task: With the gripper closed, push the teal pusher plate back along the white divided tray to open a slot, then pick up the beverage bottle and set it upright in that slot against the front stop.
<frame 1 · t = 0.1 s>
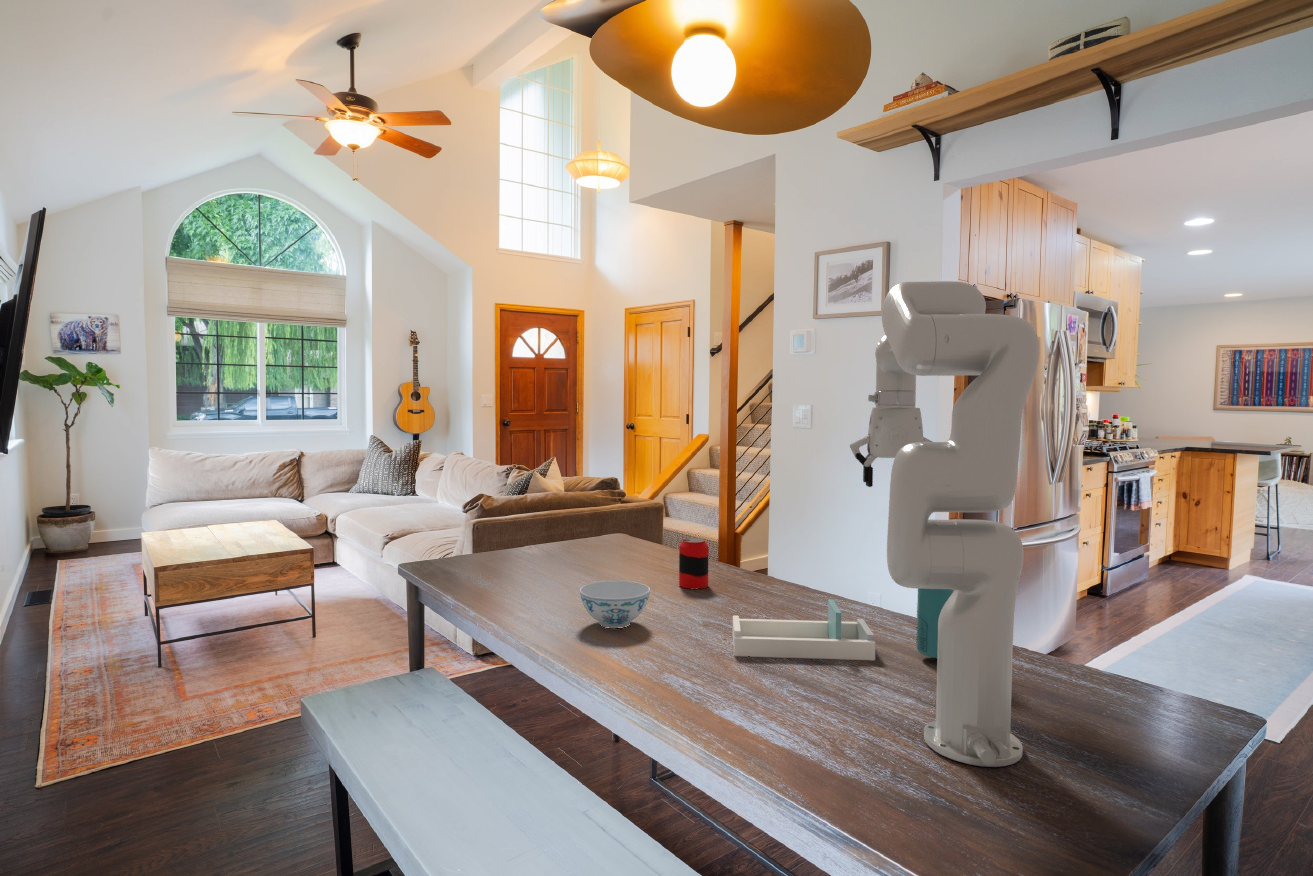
hand: (893, 486, 143), 31 cm above the table, tool pointing down, fingers open, 9 cm apart
white divided tray: (800, 647, 140), on the table
soda can: (693, 586, 187), on the table
pusher: (800, 647, 140), resting on white divided tray, slide at 0.0 cm
beverage bottle: (933, 661, 134), on the table
chinaware: (614, 625, 154), on the table
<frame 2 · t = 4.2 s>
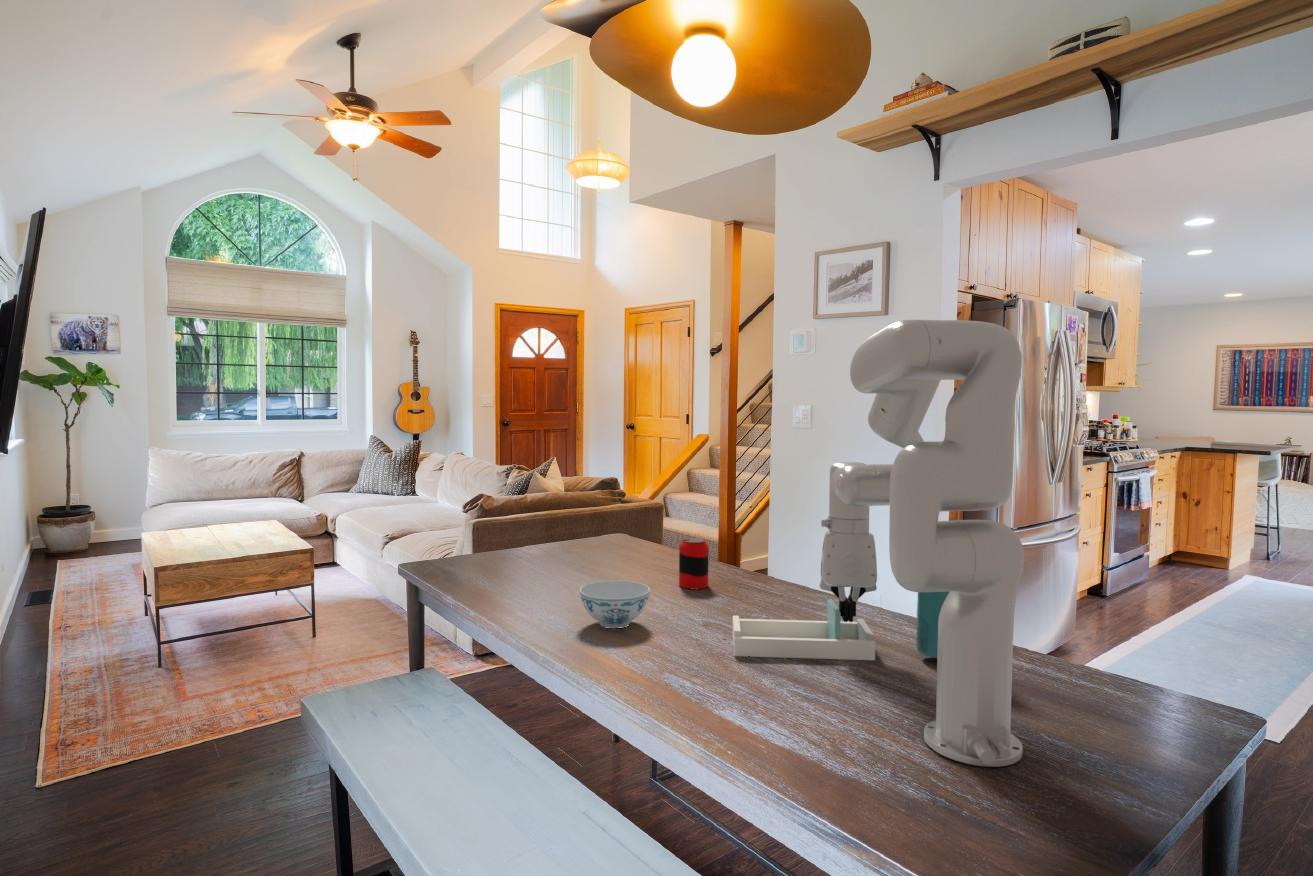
hand: (847, 619, 140), 6 cm above the table, tool pointing down, fingers closed
pusher: (799, 647, 141), resting on white divided tray, slide at 0.2 cm, touching gripper
everything else where it was.
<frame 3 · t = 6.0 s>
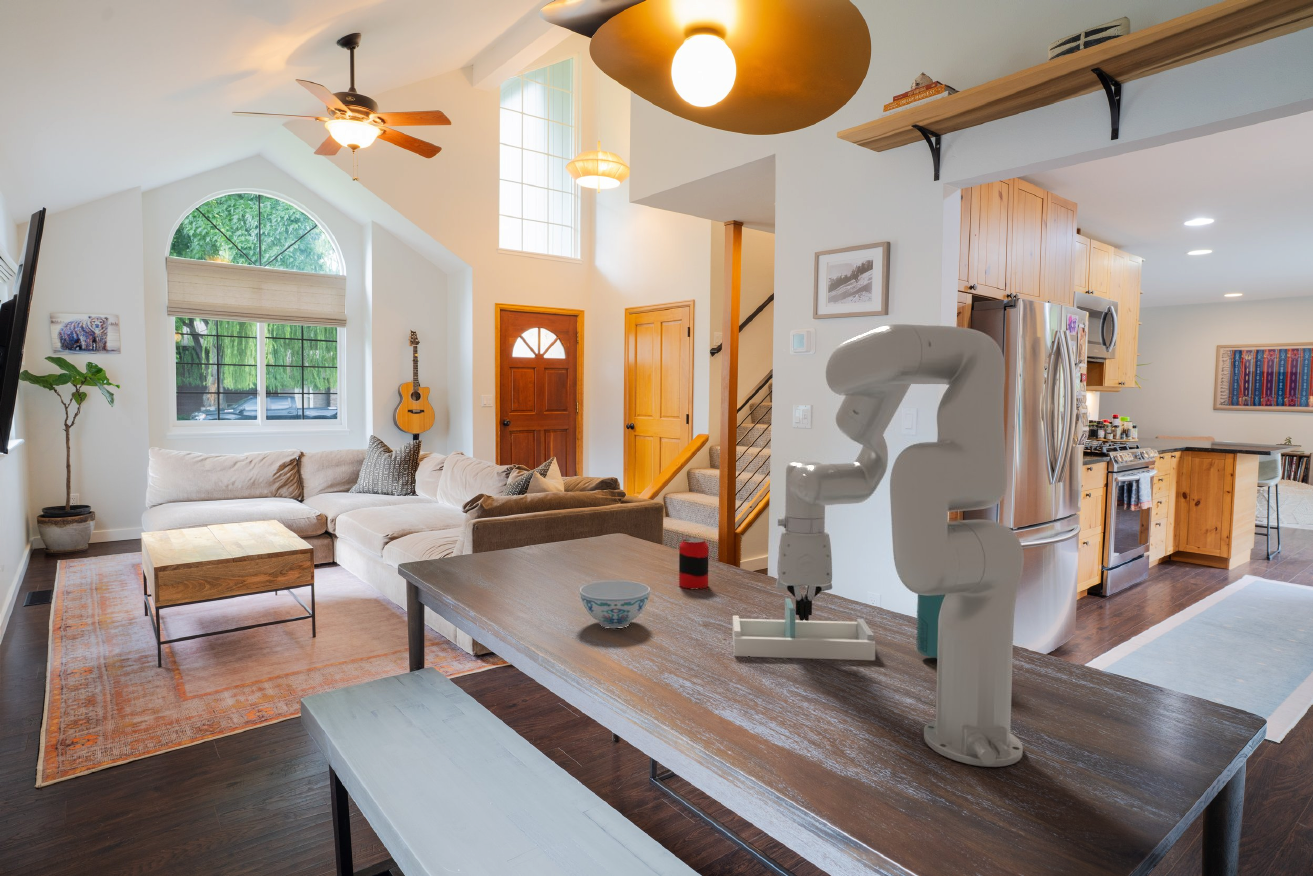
hand: (803, 618, 140), 6 cm above the table, tool pointing down, fingers closed
pusher: (756, 645, 141), resting on white divided tray, slide at 8.5 cm, touching gripper
everything else where it was.
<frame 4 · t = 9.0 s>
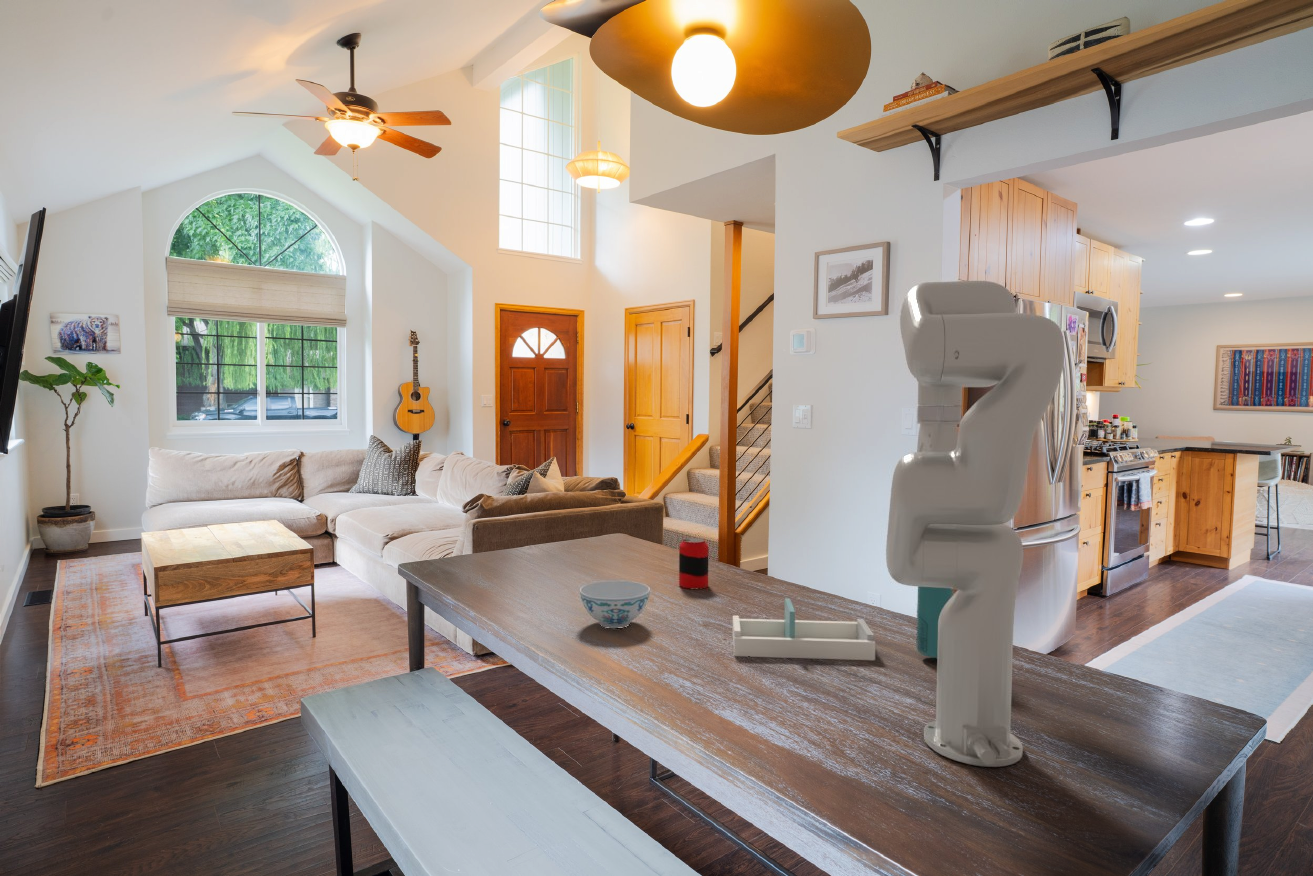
hand: (936, 514, 132), 27 cm above the table, tool pointing down, fingers open, 3 cm apart
pusher: (755, 645, 141), resting on white divided tray, slide at 8.6 cm
everything else where it was.
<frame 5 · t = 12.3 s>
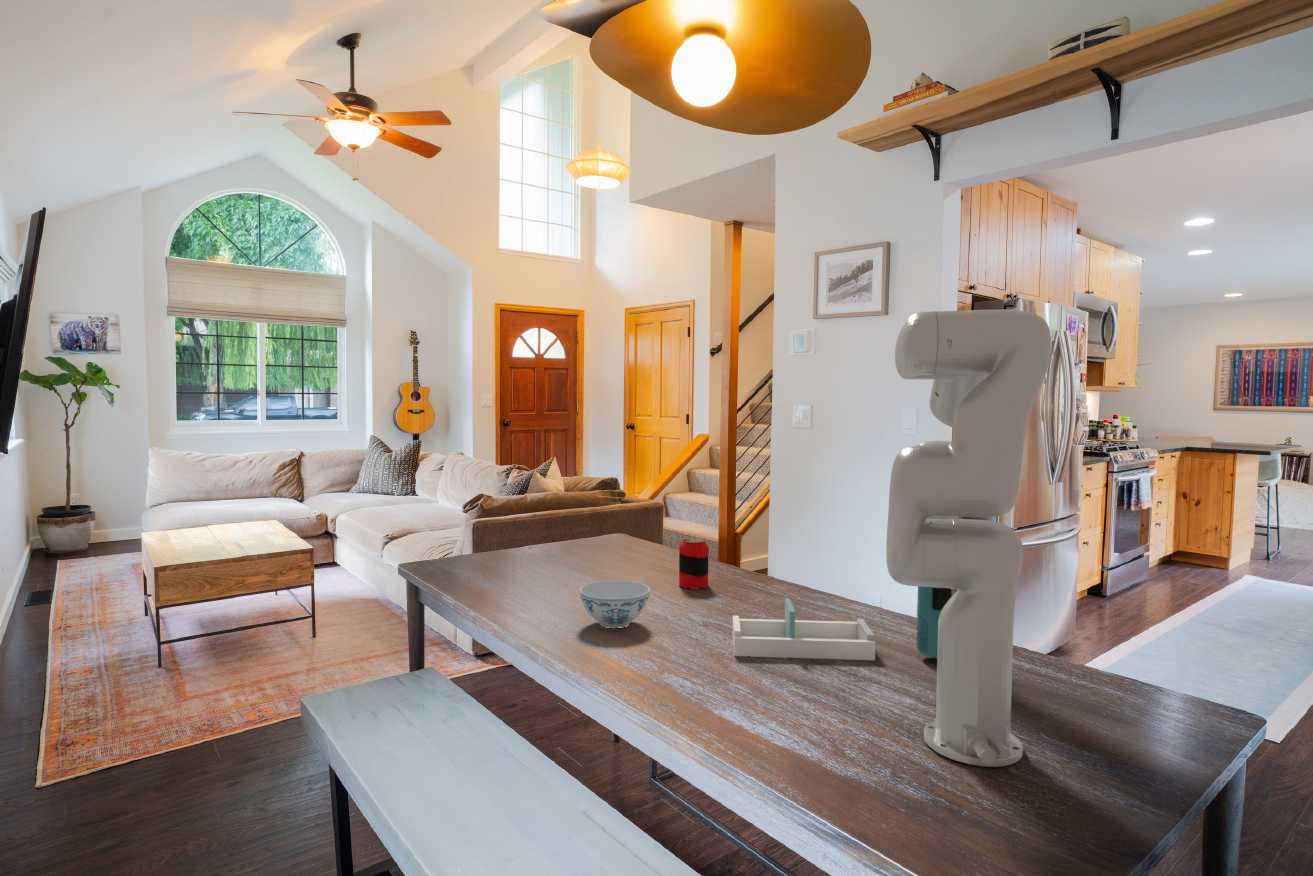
hand: (935, 603, 133), 11 cm above the table, tool pointing down, fingers closed on beverage bottle, 6 cm apart
beverage bottle: (933, 661, 134), on the table, touching gripper
everything else where it was.
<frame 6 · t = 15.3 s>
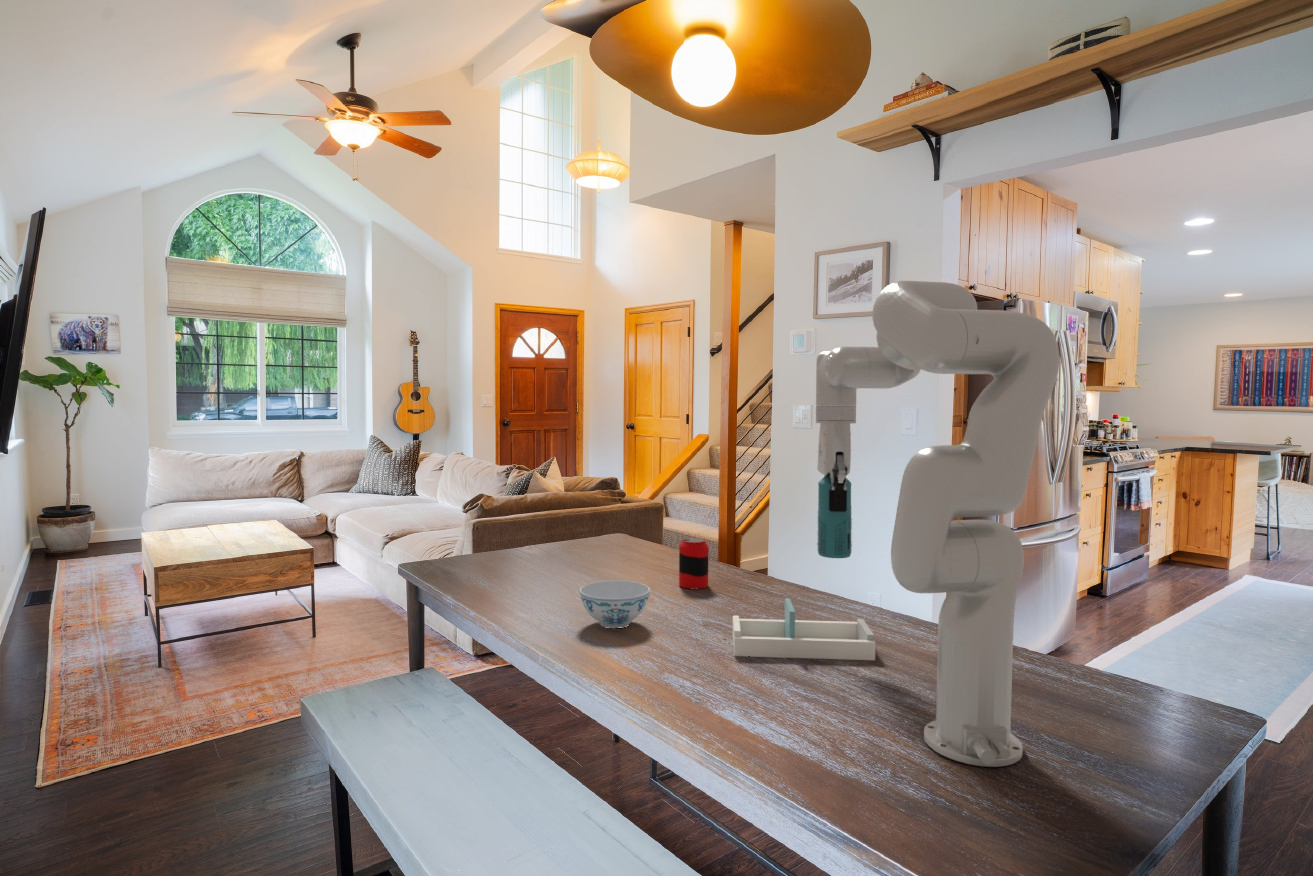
hand: (834, 507, 139), 28 cm above the table, tool pointing down, fingers closed on beverage bottle, 6 cm apart
beverage bottle: (833, 563, 139), point 17 cm above the table, touching gripper
everything else where it was.
when the fingers open (12 cm above the table, at t = 18.7 s): beverage bottle stays where it is, resting on white divided tray.
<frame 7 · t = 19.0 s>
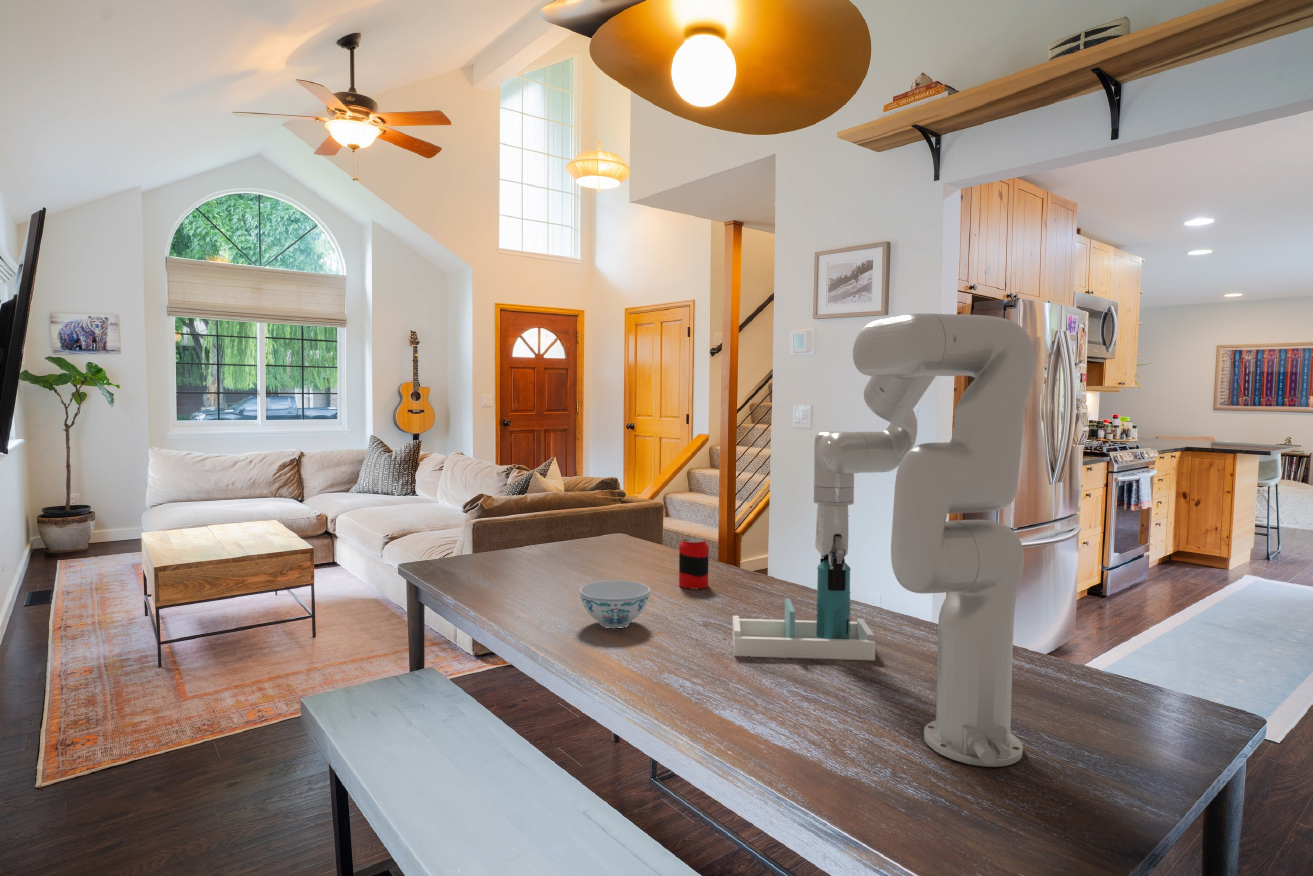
hand: (832, 583, 139), 13 cm above the table, tool pointing down, fingers open, 8 cm apart
beverage bottle: (832, 647, 140), resting on white divided tray
everything else where it was.
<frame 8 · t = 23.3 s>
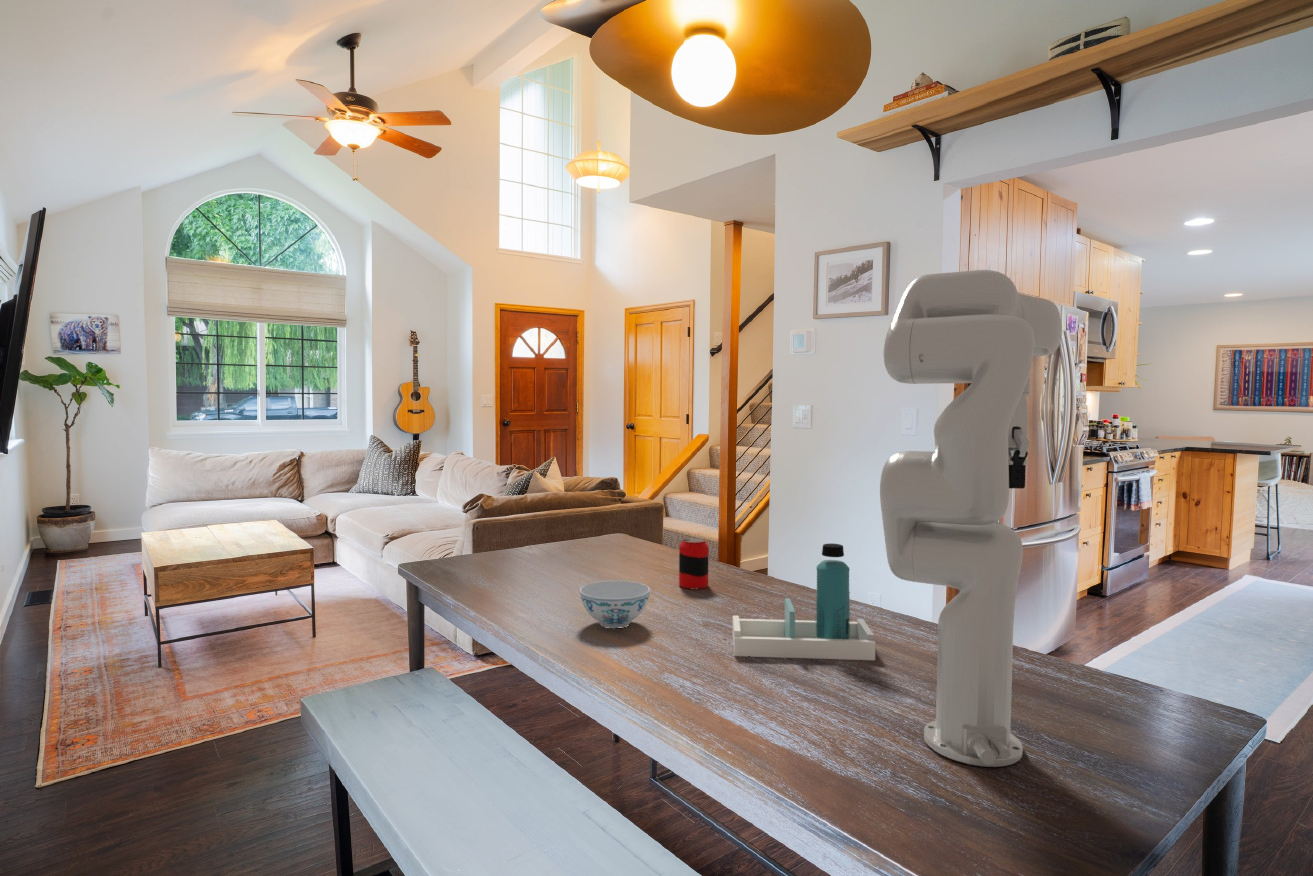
hand: (1003, 484, 127), 33 cm above the table, tool pointing down, fingers open, 9 cm apart
nothing on the table moved.
at the end: beverage bottle inside the target area on the white divided tray (0.3 cm from its centre), point 0.2 cm above the white divided tray's base; beverage bottle tilted 0°; pusher slide at 8.6 cm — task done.
